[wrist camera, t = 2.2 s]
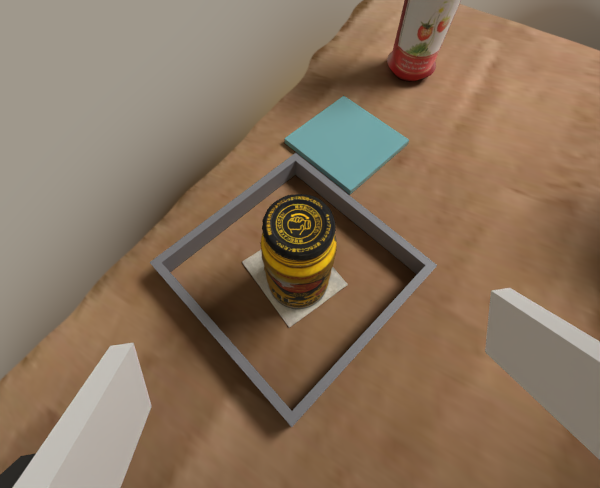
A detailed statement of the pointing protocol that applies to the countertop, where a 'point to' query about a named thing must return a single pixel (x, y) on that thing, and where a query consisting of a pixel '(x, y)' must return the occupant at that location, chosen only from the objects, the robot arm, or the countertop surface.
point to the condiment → (297, 256)
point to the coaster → (346, 143)
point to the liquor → (420, 37)
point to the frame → (246, 203)
